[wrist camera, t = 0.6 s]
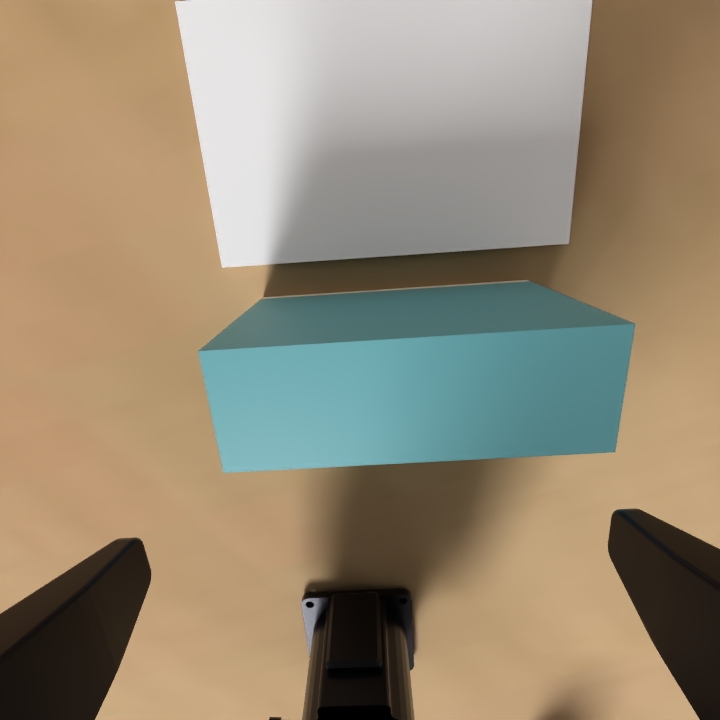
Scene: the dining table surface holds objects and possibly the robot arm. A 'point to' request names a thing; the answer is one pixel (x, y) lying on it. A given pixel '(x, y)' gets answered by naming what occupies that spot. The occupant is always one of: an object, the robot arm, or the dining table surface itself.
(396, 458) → the teal block
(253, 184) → the mat
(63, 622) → the robot arm
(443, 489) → the dining table surface
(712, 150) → the dining table surface
